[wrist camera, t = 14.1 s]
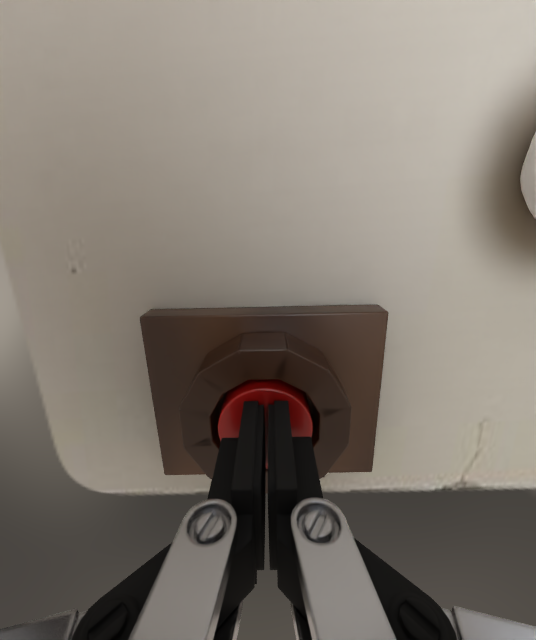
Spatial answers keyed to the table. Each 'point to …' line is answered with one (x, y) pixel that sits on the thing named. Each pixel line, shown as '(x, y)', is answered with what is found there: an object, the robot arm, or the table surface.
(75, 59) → the table surface
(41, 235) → the table surface
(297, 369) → the button block
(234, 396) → the button
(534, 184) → the plain white apple
